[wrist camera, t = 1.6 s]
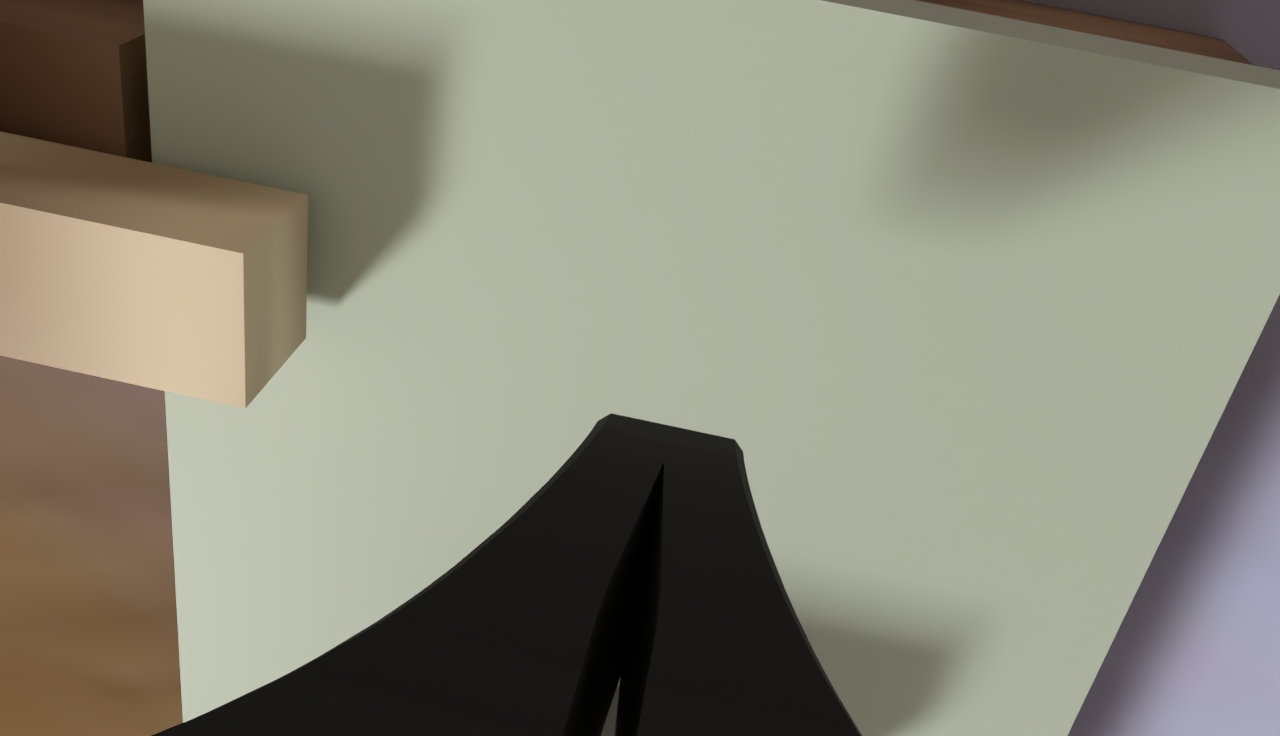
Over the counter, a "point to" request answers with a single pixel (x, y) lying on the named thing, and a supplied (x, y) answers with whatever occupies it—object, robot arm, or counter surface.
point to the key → (148, 271)
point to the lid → (726, 312)
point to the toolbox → (118, 86)
